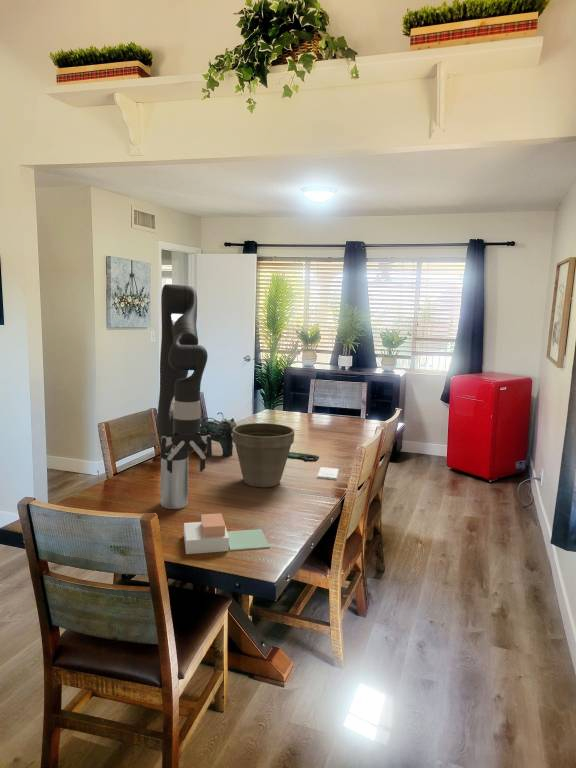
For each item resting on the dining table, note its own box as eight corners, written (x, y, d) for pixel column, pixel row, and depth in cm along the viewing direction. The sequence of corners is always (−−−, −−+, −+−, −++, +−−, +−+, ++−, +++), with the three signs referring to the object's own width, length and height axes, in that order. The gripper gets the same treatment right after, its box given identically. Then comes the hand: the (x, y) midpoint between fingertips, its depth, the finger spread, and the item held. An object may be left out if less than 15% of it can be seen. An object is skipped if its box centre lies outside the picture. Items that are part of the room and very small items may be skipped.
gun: (281, 456, 238) (287, 451, 248) (281, 459, 238) (287, 454, 248) (315, 460, 234) (320, 455, 244) (315, 463, 234) (319, 458, 244)
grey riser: (183, 535, 155) (184, 522, 154) (223, 532, 158) (223, 520, 157) (186, 554, 143) (186, 540, 143) (228, 550, 146) (229, 537, 146)
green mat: (225, 532, 158) (225, 531, 158) (261, 530, 161) (261, 529, 161) (230, 550, 146) (230, 549, 146) (269, 547, 149) (269, 546, 149)
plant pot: (224, 473, 214) (226, 422, 210) (280, 469, 222) (282, 420, 219) (239, 494, 190) (240, 438, 187) (300, 489, 199) (303, 435, 195)
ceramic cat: (236, 455, 240) (238, 413, 237) (228, 458, 234) (230, 416, 232) (202, 448, 249) (203, 408, 246) (194, 451, 243) (195, 410, 241)
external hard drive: (338, 472, 224) (336, 481, 212) (319, 470, 225) (316, 479, 213) (338, 468, 224) (336, 477, 212) (320, 467, 225) (316, 475, 213)
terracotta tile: (201, 523, 154) (201, 514, 154) (221, 522, 155) (221, 513, 155) (203, 537, 145) (204, 527, 145) (224, 535, 147) (225, 525, 146)
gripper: (210, 412, 149) (209, 466, 151) (160, 413, 145) (159, 468, 147) (214, 418, 142) (212, 474, 144) (161, 419, 138) (160, 477, 140)
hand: (185, 471), depth 146 cm, fingers open, 8 cm apart
